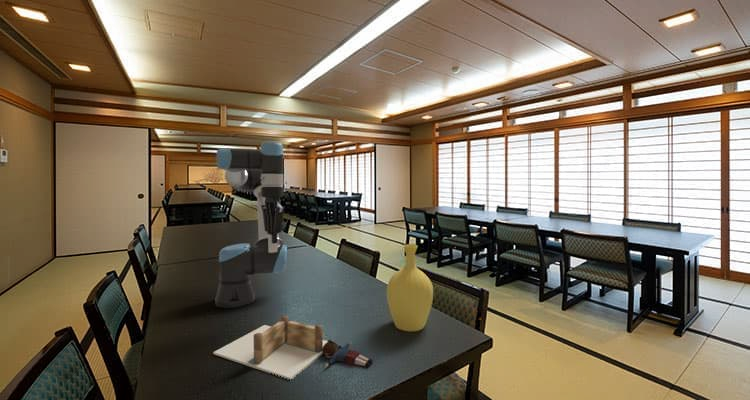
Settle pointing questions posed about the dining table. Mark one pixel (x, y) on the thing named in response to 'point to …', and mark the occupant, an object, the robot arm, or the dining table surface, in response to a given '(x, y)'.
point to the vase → (410, 294)
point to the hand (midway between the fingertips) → (272, 251)
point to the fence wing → (270, 339)
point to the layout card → (270, 355)
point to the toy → (344, 354)
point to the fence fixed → (306, 335)
